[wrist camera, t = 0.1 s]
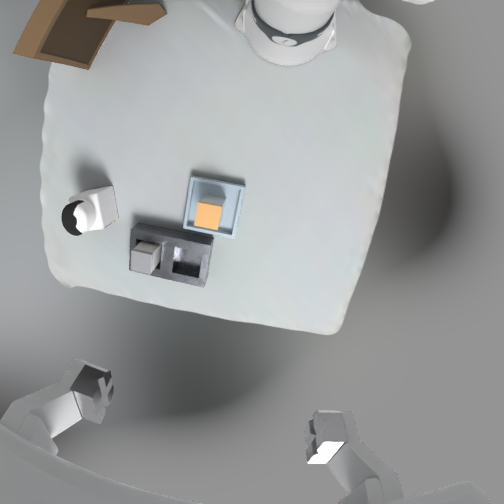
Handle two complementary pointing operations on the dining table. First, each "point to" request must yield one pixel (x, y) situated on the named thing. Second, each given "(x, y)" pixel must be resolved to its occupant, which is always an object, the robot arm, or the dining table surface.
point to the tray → (219, 189)
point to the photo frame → (78, 28)
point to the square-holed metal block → (176, 253)
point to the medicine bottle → (90, 211)
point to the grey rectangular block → (145, 257)
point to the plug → (210, 212)
